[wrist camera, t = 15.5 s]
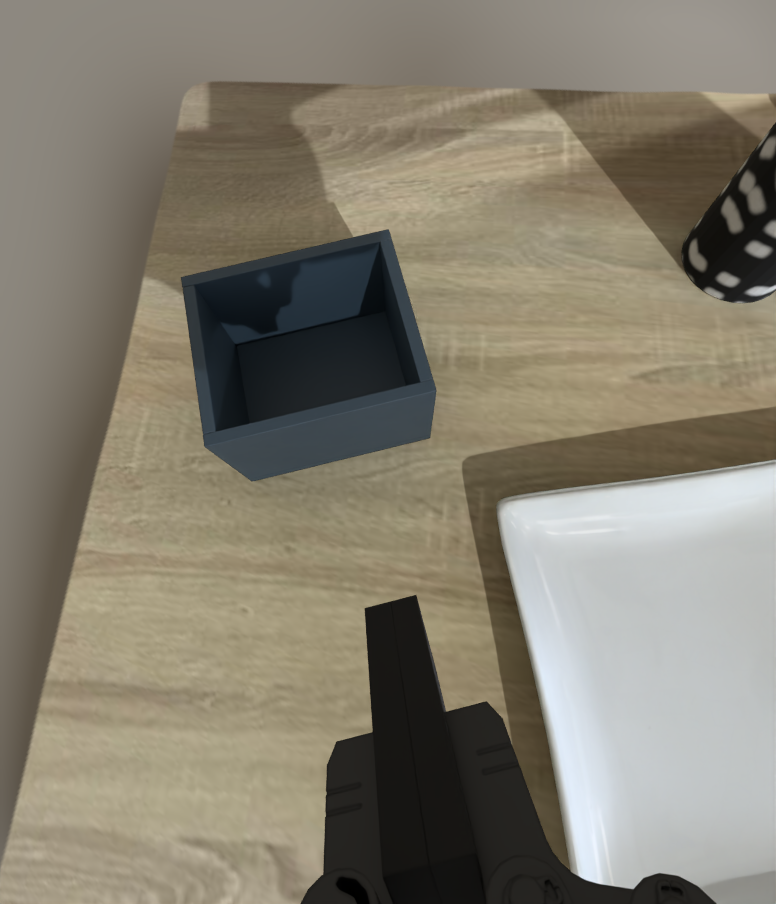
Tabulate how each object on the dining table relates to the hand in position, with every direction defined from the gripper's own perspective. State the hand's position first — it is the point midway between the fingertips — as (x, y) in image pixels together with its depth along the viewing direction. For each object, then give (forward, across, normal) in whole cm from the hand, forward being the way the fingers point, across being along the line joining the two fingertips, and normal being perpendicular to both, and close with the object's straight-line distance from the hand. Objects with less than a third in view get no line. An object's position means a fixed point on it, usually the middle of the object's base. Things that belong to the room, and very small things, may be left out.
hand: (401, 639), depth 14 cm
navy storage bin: (+20, -2, 0) cm, 20 cm away
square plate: (+12, +19, -20) cm, 30 cm away
